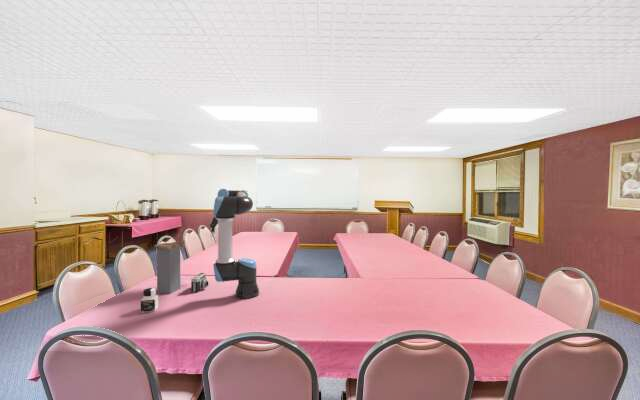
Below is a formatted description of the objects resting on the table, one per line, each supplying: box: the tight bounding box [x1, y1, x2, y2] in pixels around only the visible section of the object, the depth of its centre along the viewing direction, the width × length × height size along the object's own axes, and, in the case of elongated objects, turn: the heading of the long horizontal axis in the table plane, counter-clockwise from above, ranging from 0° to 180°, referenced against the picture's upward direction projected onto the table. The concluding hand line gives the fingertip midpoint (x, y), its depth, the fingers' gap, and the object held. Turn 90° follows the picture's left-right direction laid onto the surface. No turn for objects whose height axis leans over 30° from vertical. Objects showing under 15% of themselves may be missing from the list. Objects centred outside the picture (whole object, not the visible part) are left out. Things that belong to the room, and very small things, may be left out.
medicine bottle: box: [140, 287, 159, 314], centre depth 163 cm, size 7×7×12 cm
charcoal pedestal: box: [156, 245, 181, 295], centre depth 194 cm, size 10×10×30 cm
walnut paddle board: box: [153, 240, 185, 250], centre depth 198 cm, size 21×11×2 cm, turn 169°
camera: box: [190, 272, 209, 294], centre depth 198 cm, size 14×8×10 cm, turn 179°
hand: (218, 238), depth 214 cm, fingers open, 13 cm apart
